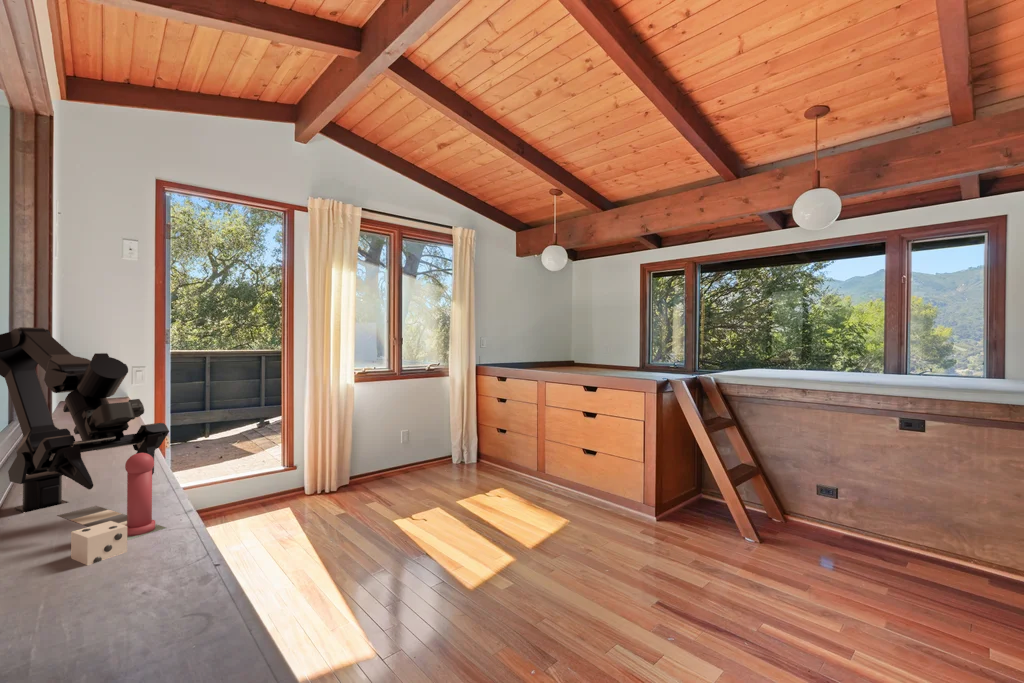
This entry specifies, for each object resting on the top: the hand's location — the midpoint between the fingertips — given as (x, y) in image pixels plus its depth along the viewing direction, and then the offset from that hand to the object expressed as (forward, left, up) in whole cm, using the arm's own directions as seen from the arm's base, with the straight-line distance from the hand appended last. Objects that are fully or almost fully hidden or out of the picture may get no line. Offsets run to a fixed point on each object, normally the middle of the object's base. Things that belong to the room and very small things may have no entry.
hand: (123, 480), depth 85 cm
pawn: (+5, 0, -8) cm, 10 cm away
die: (+11, -8, -9) cm, 16 cm away
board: (-4, 0, -9) cm, 10 cm away
